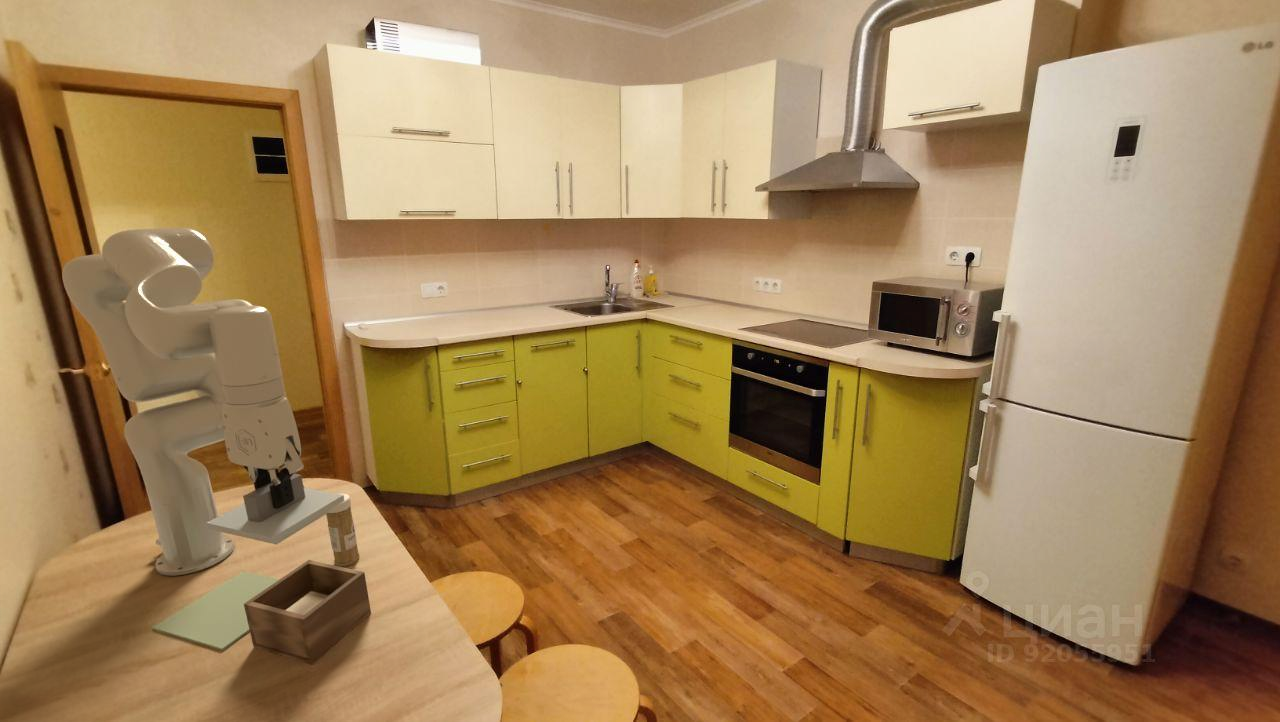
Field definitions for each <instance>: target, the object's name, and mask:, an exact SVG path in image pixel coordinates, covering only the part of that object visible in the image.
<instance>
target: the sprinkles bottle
mask: <svg viewBox="0 0 1280 722" xmlns="http://www.w3.org/2000/svg"><path fill="white" fill-rule="evenodd" d="M340 494H341V495H344V501H343V502H341V503H339V504H338V505H336V506H335V507H333V508H331V509H330V510H329V513H327V514H326V519H327V520H326V521H327V527H328V533H329V539H330V540H329V541H330V545H331V550H332V552H333V558H334V559H333V560H334V561H333V562H334V564H335V566H339V567H347V566H350V565H353V564H355V563H356V562H357V561H358V560H359V559H360V556H361V555H360V553H359V549H358V548H359V547H358V542H357V536H356V530H355V524H354V523H355V522H354V520H353V519H354V518H353V514H352V510H351V509H352V507H351V506H352V502H351V496H350V495H349V494H347V493H340Z"/></svg>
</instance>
